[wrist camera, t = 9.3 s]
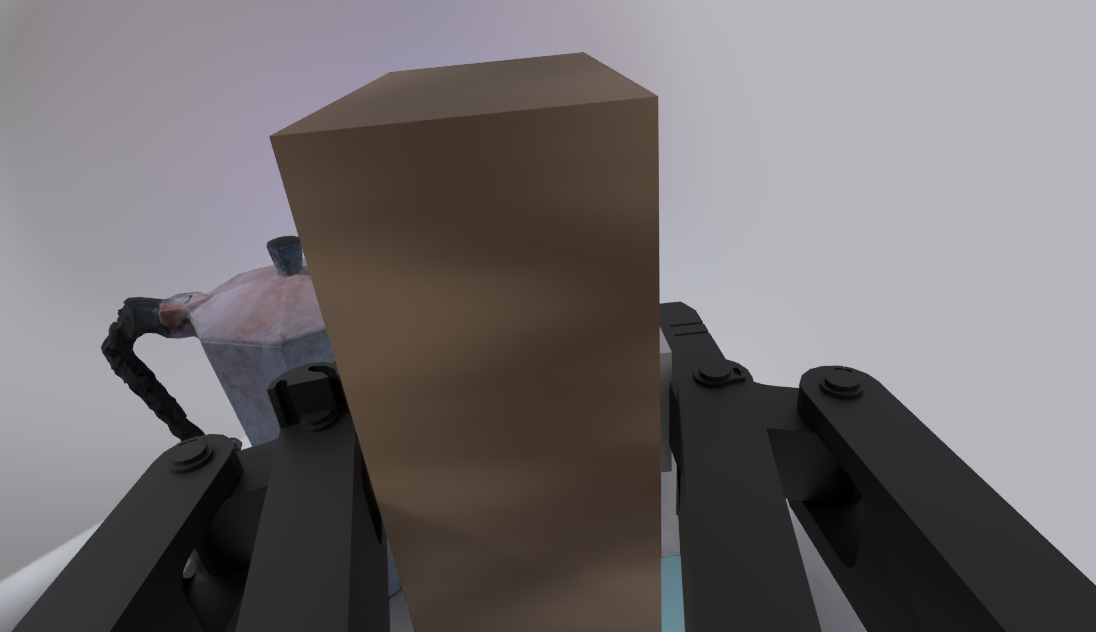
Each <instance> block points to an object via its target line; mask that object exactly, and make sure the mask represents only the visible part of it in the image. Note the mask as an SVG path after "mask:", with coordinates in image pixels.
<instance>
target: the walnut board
mask: <svg viewBox="0 0 1096 632" xmlns="http://www.w3.org/2000/svg"><path fill="white" fill-rule="evenodd" d="M270 140H271V144H272V147H273V150H274V154H275V157H276V161H277V164H278V168H279V171H280V174H281V178H282V181H283V185H284V188H285V191H286V195H287V198H288V202H289V205H290V209H291V212H292V215H293V219H294V222H295V225H296V229H297V232H298V236H299V239H300V243H301V246H302V249H303V253H304V256H305V260H306V263H307V266H308V270H309V273H310V277H311V280H312V283H313V287H314V290H315V294H316V297H317V300H318V304H319V307H320V311H321V314H322V317H323V321H324V324H325V328H326V331H327V334H328V338H329V341H330V345H331V348H332V351H333V355H334V358H335V361H336V365H337V368H338V372H339V375H340V378H341V382H342V385H343V389H344V392H345V395H346V399H347V402H348V406H349V409H350V412H351V416H352V419H353V423H354V426H355V429H356V433H357V436H358V440H359V443H360V446H361V450H362V453H363V457H364V460H365V463H366V467H367V470H368V474H369V477H370V480H371V484H372V487H373V491H374V494H375V497H376V501H377V504H378V508H379V511H380V514H381V518H382V521H383V525H384V528H385V531H386V535H387V538H388V542H389V545H390V548H391V552H392V555H393V559H394V562H395V565H396V569H397V572H398V576H399V579H400V582H401V586H402V589H403V593H404V596H405V599H406V603H407V606H408V610H409V613H410V616H411V620H412V623H413V627H414V630H415V632H662V603H661V453H660V303H659V164H658V163H659V159H658V158H659V157H658V155H659V154H658V153H659V152H658V96H657V95H655V94H654V93H652V92H650V91H649V90H647V89H645V88H643V87H642V86H640V85H638V84H637V83H635V82H633V81H631V80H630V79H628V78H626V77H625V76H623V75H621V74H620V73H618V72H616V71H615V70H613V69H611V68H610V67H608V66H606V65H604V64H603V63H601V62H599V61H598V60H596V59H594V58H593V57H591V56H589V55H587V54H585V53H584V52H582V53H572V54H563V55H553V56H543V57H533V58H524V59H515V60H504V61H494V62H484V63H475V64H465V65H455V66H445V67H436V68H426V69H416V70H406V71H397V72H389V73H388V74H386V75H384V76H382V77H380V78H378V79H377V80H374V81H372V82H371V83H369V84H367V85H365V86H363V87H361V88H359V89H358V90H356V91H354V92H352V93H350V94H348V95H346V96H344V97H343V98H340V99H339V100H337V101H335V102H333V103H331V104H329V105H327V106H325V107H324V108H322V109H320V110H318V111H316V112H314V113H312V114H310V115H308V116H307V117H305V118H303V119H301V120H299V121H297V122H296V123H293V124H292V125H290V126H288V127H286V128H284V129H282V130H280V131H278V132H277V133H275V134H273V135H271V136H270Z"/></svg>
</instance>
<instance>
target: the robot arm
mask: <svg viewBox="0 0 1096 632" xmlns="http://www.w3.org/2000/svg"><path fill="white" fill-rule="evenodd" d="M267 393H268V395H269V398H270V401H271V404H272V406H273V409H274V412H275V415H276V417H277V420H278V423H279V426H280V432H279V437H278V438H277V439H274V440H272V441H269V442H266V443H263V444H260V445H257V446H253V447H250V448H247V449H243V450H240V451H237V452H236V450H235V448H234V445H233V443H232V440H231V439H230V438H228V437H226V436H224V435H218V434H208V435H203V436H197V437H193V438H190V439H188V440H184V441H182V442H180V443H178V444H177V445H175V446H174V447H172V448H170V449H169V450H167V451H165V452H164V453H163V454H162V455H161V456H160V457H158V458H157V459H156V460H155V461H154V462H153V463H152V464H151V466H150V467H149V468H148V469H147V470H146V472H145V473H144V474H143V475H142V476H141V478H140V479H139V480H138V481H137V482H136V484H135V485H134V486H133V487H132V488H131V489H130V491H129V492H128V493H127V494H126V495H125V497H124V498H123V499H122V500H121V502H120V503H119V504H118V505H117V506H116V507H115V509H114V510H113V511H112V512H111V513H110V515H109V516H108V517H107V518H106V519H105V521H104V522H103V523H102V524H101V525H100V526H99V528H98V529H97V530H96V531H95V532H94V534H93V535H92V536H91V537H90V538H89V540H88V541H87V542H86V543H85V544H84V546H83V547H82V548H81V549H80V550H79V552H78V553H77V554H76V555H75V556H74V558H73V559H72V560H71V561H70V562H69V564H68V565H67V566H66V567H65V568H64V569H63V571H62V572H61V573H60V574H59V575H58V577H57V578H56V579H55V580H54V581H53V583H52V584H51V585H50V586H49V587H48V589H47V590H46V591H45V592H44V593H43V595H42V596H41V597H40V598H39V599H38V601H37V602H36V603H35V604H34V605H33V607H32V608H31V609H30V610H29V611H28V612H27V614H26V615H25V616H24V617H23V618H22V620H21V621H20V622H19V623H18V624H17V626H16V627H15V628H14V629H13V630H12V632H390V615H389V585H388V554H387V535H386V531H385V528H384V525H383V521H382V518H381V514H380V511H379V508H378V504H377V501H376V497H375V494H374V491H373V487H372V484H371V480H370V477H369V474H368V470H367V467H366V463H365V460H364V457H363V453H362V450H361V446H360V443H359V440H358V436H357V433H356V429H355V426H354V423H353V419H352V416H351V412H350V409H349V406H348V402H347V399H346V395H345V392H344V389H343V385H342V382H341V378H340V375H339V372H338V368H337V365H336V361H334V363H330V362H317V363H309V364H305V365H302V366H298V367H295V368H293V369H291V370H289V371H287V372H285V373H283V374H281V375H280V376H278V377H277V378H276V379H275V380H273V381H272V382H271V384H270V385H269V387H268V388H267ZM671 450H672V453H673V456H674V459H675V461H676V464H677V490H676V515H678V520H679V537H680V555H681V572H682V590H683V607H684V625H685V632H822V631H821V628H820V624H819V620H818V617H817V613H816V609H815V606H814V602H813V598H812V595H811V591H810V587H809V584H808V580H807V576H806V573H805V569H804V565H803V562H802V558H801V554H800V551H799V547H798V543H797V540H796V536H795V532H794V528H793V525H792V521H791V517H790V514H789V510H788V506H787V503H786V499H785V498H787V499H788V502H789V505H790V507H791V509H792V510H793V512H794V513H795V515H796V517H797V518H798V520H799V522H800V523H801V525H802V526H803V528H804V530H805V531H806V533H807V535H808V536H809V538H810V539H811V541H812V543H813V544H814V546H815V548H816V549H817V551H818V552H819V554H820V556H821V557H822V559H823V561H824V562H825V564H826V565H827V567H828V569H829V570H830V572H831V573H832V575H833V577H834V578H835V580H836V582H837V583H838V585H839V586H840V588H841V590H842V591H843V593H844V595H845V596H846V598H847V599H848V601H849V603H850V604H851V606H852V608H853V609H854V611H855V612H856V614H857V616H858V617H859V619H860V620H861V622H862V624H863V625H864V627H865V629H866V630H867V632H1096V585H1095V584H1094V583H1093V582H1091V581H1090V580H1089V579H1088V578H1087V577H1086V576H1085V575H1084V574H1083V573H1082V572H1081V571H1080V570H1079V569H1078V568H1076V566H1074V565H1073V564H1072V563H1071V562H1070V561H1069V560H1068V559H1067V558H1066V557H1065V556H1064V555H1063V554H1062V553H1061V552H1060V551H1059V550H1057V549H1056V548H1055V547H1054V546H1053V545H1052V544H1051V543H1050V542H1049V541H1048V540H1047V539H1046V538H1045V537H1044V536H1042V535H1041V534H1040V533H1039V532H1038V531H1037V530H1036V529H1035V528H1034V527H1033V526H1032V525H1031V524H1030V523H1029V522H1028V521H1027V520H1026V519H1024V518H1023V517H1022V516H1021V515H1020V514H1019V513H1018V512H1017V511H1016V510H1015V509H1014V508H1013V507H1012V506H1011V505H1010V504H1008V503H1007V502H1006V501H1005V500H1004V499H1003V498H1002V497H1001V496H1000V495H999V494H998V493H997V492H996V491H994V490H993V488H991V487H990V486H989V485H988V484H987V483H986V482H985V481H984V480H983V479H982V478H981V477H980V476H979V475H978V474H977V473H975V472H974V471H973V470H972V469H971V468H970V467H969V466H968V465H967V464H966V463H965V462H964V461H963V460H961V458H959V457H958V456H957V455H956V454H955V453H954V452H953V451H952V450H951V449H950V448H949V447H948V446H947V445H946V444H945V443H943V442H942V441H941V440H940V439H939V438H938V437H937V436H936V435H935V434H934V433H933V432H932V431H931V430H930V429H929V428H928V427H927V426H925V425H924V424H923V423H922V422H921V421H920V420H919V419H918V418H917V417H916V416H915V415H914V414H913V413H912V412H911V411H909V410H908V409H907V408H906V407H905V406H904V405H903V404H902V403H901V402H900V401H899V400H898V399H897V398H896V397H895V396H893V395H892V394H891V393H890V392H889V391H888V390H887V389H886V388H885V387H884V386H883V385H882V384H881V383H880V382H879V381H877V380H876V379H874V378H873V377H871V376H870V375H868V374H866V373H864V372H861V371H858V370H856V369H853V368H849V367H843V366H820V367H817V368H813V369H810V370H808V371H807V372H805V373H804V374H803V375H802V377H801V380H800V384H799V388H792V387H779V386H770V385H764V384H760V383H756V382H754V381H753V378H752V376H751V374H750V373H749V371H748V369H746V368H745V367H743V366H742V365H740V364H739V363H736V362H733V361H730V360H727V359H725V357H724V356H723V354H722V352H721V351H720V349H719V347H718V346H717V344H716V343H715V341H714V339H713V338H712V336H711V334H710V333H708V330H707V328H706V326H705V325H704V324H703V322H702V320H701V318H700V317H699V315H698V314H697V312H696V310H694V309H692V308H691V307H689V306H687V305H686V304H684V303H682V302H673V303H663V304H660V453H661V472H668V471H671ZM188 558H190V560H191V563H190V565H189V566H188V568H187V570H186V571H185V573H184V574H183V570H184V568H185V565H186V563H187V560H188Z"/></svg>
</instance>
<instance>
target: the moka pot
mask: <svg viewBox="0 0 1096 632" xmlns="http://www.w3.org/2000/svg"><path fill="white" fill-rule="evenodd" d="M267 249H268V251H269V254H270V256H271V258H272V260H273V262H274V264H275V265H272V266H268V267H264V268H260V269H256V270H253V271H248V272H244V273H241V274H238V275H236V276H235V277H233V278H231V279H230V280H229V281H227V282H226V283H224V284H222V285H220V286H219V287H217V288H216V289H214V290H213V291H211V292H210V293H208V294H203V293H200V292H191V293H183V294H177V295H174V296H172V297H170V298H168V299H155V298H143V297H135V298H128V299H126V300H125V301H124V304H125V305H124V307H123V308H122V309H120V310H118V315H119V317H118V319H117V322H113V323H112V324H111V326H110V328H109V335H108V337H107V338H106V339H105V341H104V342H103V344H102V346H101V349H102V352H103V354H104V356H105V357H106V359H107V360H108V362H109V363H110V365H111V369H113V370H114V372H115V374H116V375H117V376H119V377H121V378H122V379H123V380H124V383H127V384H128V386H129V388H130V389H131V390H132V391H133V392H134V393H135V394H136V395H138V396H139V397H141V398H142V400H143V401H144V402H145V403H146V404H147V405H148V407H149V409H151V410H153V411H154V412H155V414H156V416H157V417H158V418H159V419H161V420H162V421H164V422H165V423H166V424H167V425H168V427H169V429H170V431H171V433H172V434H173V435H174V436H176V437H178V438H179V439H180V440H181V442H182V441H184V440H188V439H190V438H193V437H197V436H203V435H205V434H204V432H203V431H202V430H201V429H200V428H198V427H197V426H196V425H194V424H193V423H192V422H190V421H189V420H188V419H187V418H186V416H187V415H186V414H185V412H184V411H183V410H182V408H181V406H180V405H179V404H178V403H177V402H176V399H175V398H173V397H172V396H170V395H169V394H168V392H167V390H166V388H165V387H164V386H163V385H162V384H161V383H159V381H158V380H157V379H156V377H155V374H154V373H153V372H152V371H151V370H150V369H149V368H148V367H147V366H146V365H145V364H144V363H143V362H142V361H141V360H140V359H139V358H138V357H137V356H136V355H135V353H134V351H133V345H134V342H135V341H136V339H137V338H138V337H140V336H142V335H143V334H145V333H157V334H159V335H162V336H164V337H166V338H178V339H179V338H186V337H191V336H195V337H197V338H199V340H200V342H201V344H202V347H203V349H204V351H205V353H206V355H207V358H208V360H209V362H210V363H211V365H212V367H213V369H214V371H215V373H216V375H217V377H218V379H219V381H220V383H221V385H222V387H223V389H224V391H225V393H226V395H227V397H228V399H229V401H230V403H231V405H232V407H233V408H234V411H235V413H236V415H237V417H238V419H239V421H240V423H241V425H242V427H243V429H244V431H245V433H246V435H247V437H248V439H249V441H250V443H251V445H252V447H253V446H257V445H260V444H263V443H266V442H269V441H272V440H274V439H277V438H278V437H279V432H280V426H279V423H278V420H277V417H276V415H275V412H274V409H273V406H272V404H271V401H270V398H269V395H268V393H267V388H268V387H269V385H270V384H271V382H272V381H273V380H275V379H276V378H277V377H278V376H280V375H281V374H283V373H285V372H287V371H289V370H291V369H293V368H295V367H298V366H302V365H305V364H309V363H317V362H330V363H334V361H335V358H334V355H333V351H332V348H331V345H330V341H329V338H328V334H327V331H326V328H325V324H324V321H323V317H322V314H321V311H320V307H319V304H318V300H317V297H316V294H315V290H314V287H313V283H312V280H311V277H310V273H309V270H308V266H307V263H306V260H305V258H302V246H301V243H300V239H299V237H296V236H283V237H278V238H276V239H273V240H271V241H269V242H267ZM230 439H231V440H232V443H233V445H234V448H235V450H236V452H237V451H240V450H241V447H242V442H241V441H240V440H238V439H236V438H230ZM387 554H388V585H389V596H391V595H393V594H394V593H395V592H397V591H398V590H399V589H400V588H401V587H402V586H401V582H400V579H399V576H398V572H397V569H396V565H395V562H394V559H393V555H392V552H391V548H390V545H389V542H388V538H387Z"/></svg>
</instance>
